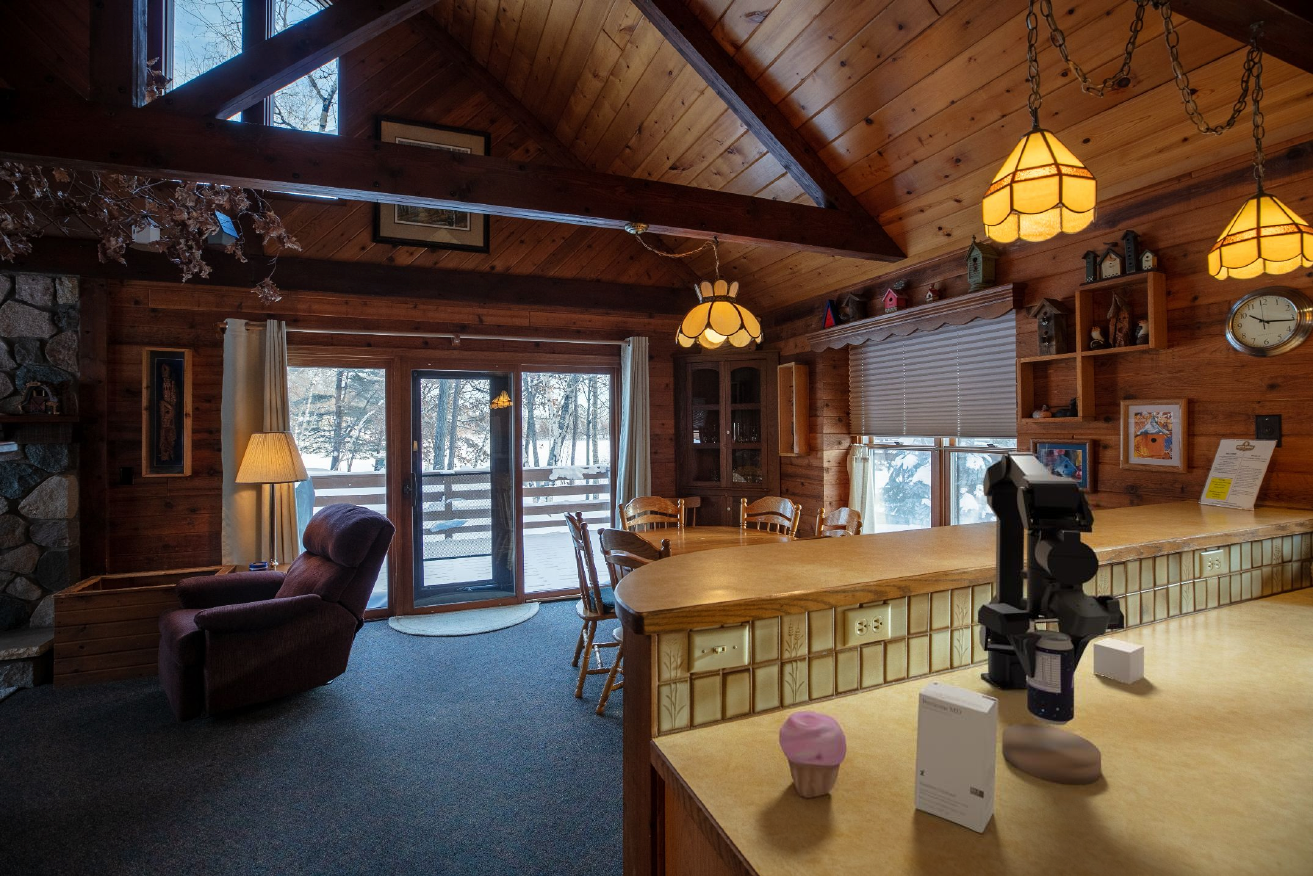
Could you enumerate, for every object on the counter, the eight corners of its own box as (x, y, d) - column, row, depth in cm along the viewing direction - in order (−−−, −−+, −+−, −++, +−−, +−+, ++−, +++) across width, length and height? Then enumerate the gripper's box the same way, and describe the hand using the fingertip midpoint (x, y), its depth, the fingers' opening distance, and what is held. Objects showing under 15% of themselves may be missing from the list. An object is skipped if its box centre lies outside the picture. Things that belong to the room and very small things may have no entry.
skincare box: (913, 809, 79) (913, 692, 79) (928, 788, 84) (928, 677, 84) (987, 836, 74) (986, 711, 74) (998, 812, 79) (998, 694, 78)
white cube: (1144, 677, 119) (1144, 646, 119) (1130, 685, 116) (1130, 652, 116) (1107, 667, 124) (1107, 637, 124) (1093, 674, 121) (1093, 643, 121)
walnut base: (984, 742, 95) (984, 726, 95) (1057, 737, 97) (1057, 721, 97) (1041, 788, 84) (1041, 769, 83) (1123, 781, 85) (1123, 762, 85)
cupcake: (772, 772, 88) (771, 701, 88) (832, 769, 89) (832, 699, 89) (790, 811, 79) (790, 732, 79) (857, 807, 80) (857, 729, 80)
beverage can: (1081, 729, 87) (1081, 643, 86) (1035, 725, 88) (1035, 640, 88) (1064, 710, 92) (1064, 629, 92) (1021, 707, 93) (1021, 627, 93)
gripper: (1029, 584, 81) (1029, 705, 81) (1160, 578, 83) (1159, 695, 83) (975, 565, 92) (975, 671, 92) (1092, 560, 94) (1092, 663, 94)
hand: (1049, 675), depth 90 cm, fingers closed on beverage can, 6 cm apart
